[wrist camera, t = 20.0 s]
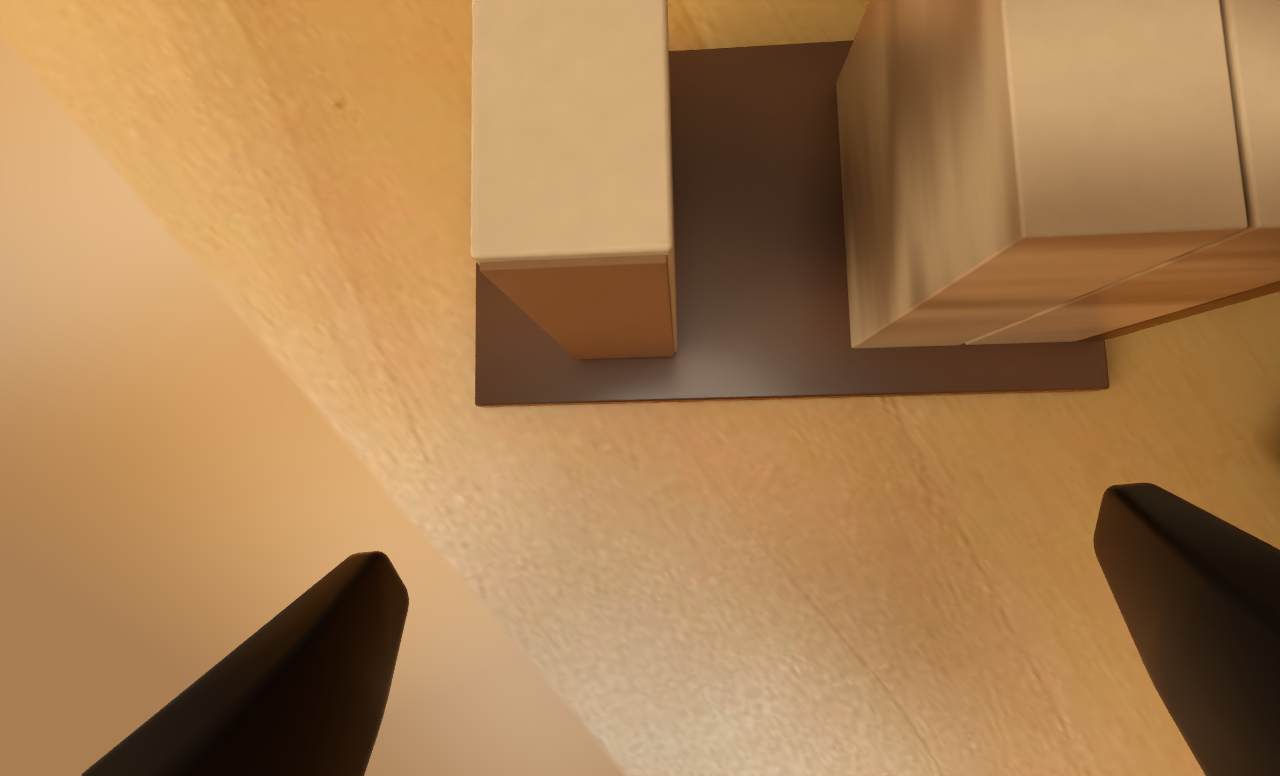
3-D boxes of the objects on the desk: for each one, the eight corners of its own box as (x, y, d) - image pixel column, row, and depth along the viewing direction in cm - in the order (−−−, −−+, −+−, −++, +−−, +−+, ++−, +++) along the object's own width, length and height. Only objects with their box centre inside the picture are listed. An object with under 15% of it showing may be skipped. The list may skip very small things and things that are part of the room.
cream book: (677, 357, 21) (673, 258, 11) (573, 361, 21) (468, 266, 11) (670, 91, 22) (659, -241, 12) (570, 96, 22) (472, -224, 12)
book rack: (1098, 390, 21) (1578, 313, 10) (480, 406, 22) (274, 355, 11) (1063, 38, 22) (1450, -389, 11) (482, 72, 23) (300, -279, 12)
